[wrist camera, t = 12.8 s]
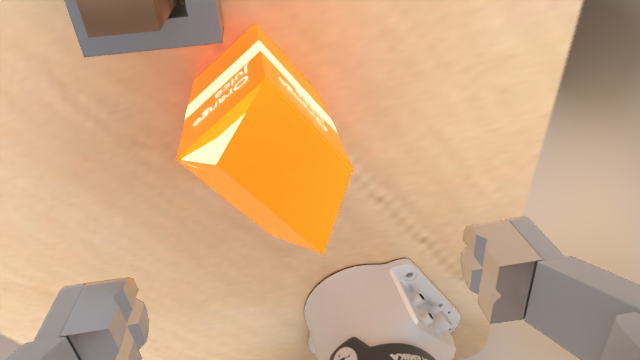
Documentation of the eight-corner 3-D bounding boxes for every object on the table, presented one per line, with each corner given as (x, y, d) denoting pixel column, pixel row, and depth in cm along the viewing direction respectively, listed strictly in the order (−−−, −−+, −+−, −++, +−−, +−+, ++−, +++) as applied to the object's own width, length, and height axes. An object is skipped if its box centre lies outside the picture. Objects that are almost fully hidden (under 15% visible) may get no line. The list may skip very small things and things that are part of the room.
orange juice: (256, 20, 38) (273, 113, 21) (321, 93, 42) (378, 218, 25) (192, 81, 40) (160, 211, 23) (260, 144, 44) (276, 293, 27)
